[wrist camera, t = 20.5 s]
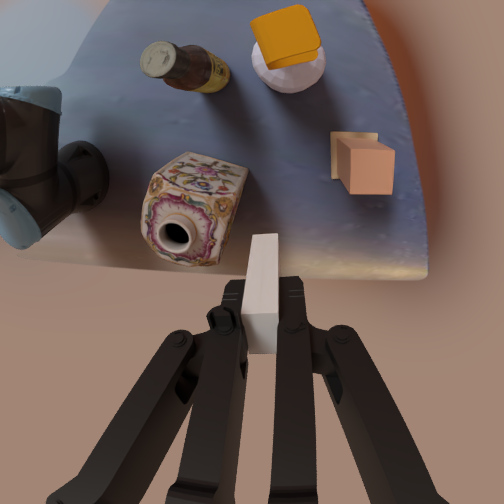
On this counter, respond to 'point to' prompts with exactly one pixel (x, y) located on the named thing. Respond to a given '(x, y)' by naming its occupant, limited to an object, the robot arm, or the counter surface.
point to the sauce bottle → (185, 67)
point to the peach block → (365, 166)
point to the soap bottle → (287, 49)
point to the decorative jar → (192, 209)
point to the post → (334, 146)
